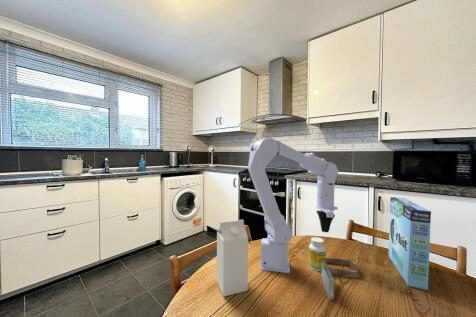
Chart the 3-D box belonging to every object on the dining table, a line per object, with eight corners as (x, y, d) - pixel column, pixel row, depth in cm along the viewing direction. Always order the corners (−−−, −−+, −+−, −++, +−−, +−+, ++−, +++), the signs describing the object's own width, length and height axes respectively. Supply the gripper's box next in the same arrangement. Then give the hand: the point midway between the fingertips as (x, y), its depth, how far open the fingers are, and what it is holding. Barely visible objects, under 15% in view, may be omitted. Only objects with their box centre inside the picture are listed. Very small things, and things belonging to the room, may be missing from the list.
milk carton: (216, 281, 60) (217, 218, 60) (238, 276, 63) (239, 216, 62) (223, 297, 53) (223, 226, 53) (247, 291, 56) (248, 223, 56)
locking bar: (328, 299, 53) (329, 280, 53) (321, 277, 62) (321, 261, 62) (333, 299, 53) (333, 280, 53) (325, 278, 62) (325, 262, 62)
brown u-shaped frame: (325, 274, 64) (325, 268, 64) (320, 261, 72) (320, 256, 72) (359, 279, 62) (359, 272, 62) (350, 265, 70) (350, 259, 70)
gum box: (388, 256, 76) (389, 196, 76) (404, 259, 74) (406, 198, 74) (407, 286, 59) (409, 208, 58) (430, 291, 57) (432, 210, 56)
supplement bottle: (314, 261, 72) (315, 235, 72) (328, 268, 68) (329, 240, 68) (305, 266, 69) (305, 238, 69) (319, 273, 65) (319, 244, 65)
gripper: (343, 199, 65) (343, 240, 65) (332, 191, 80) (331, 225, 80) (320, 198, 67) (320, 238, 67) (313, 190, 81) (313, 224, 81)
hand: (325, 231), depth 73 cm, fingers closed
